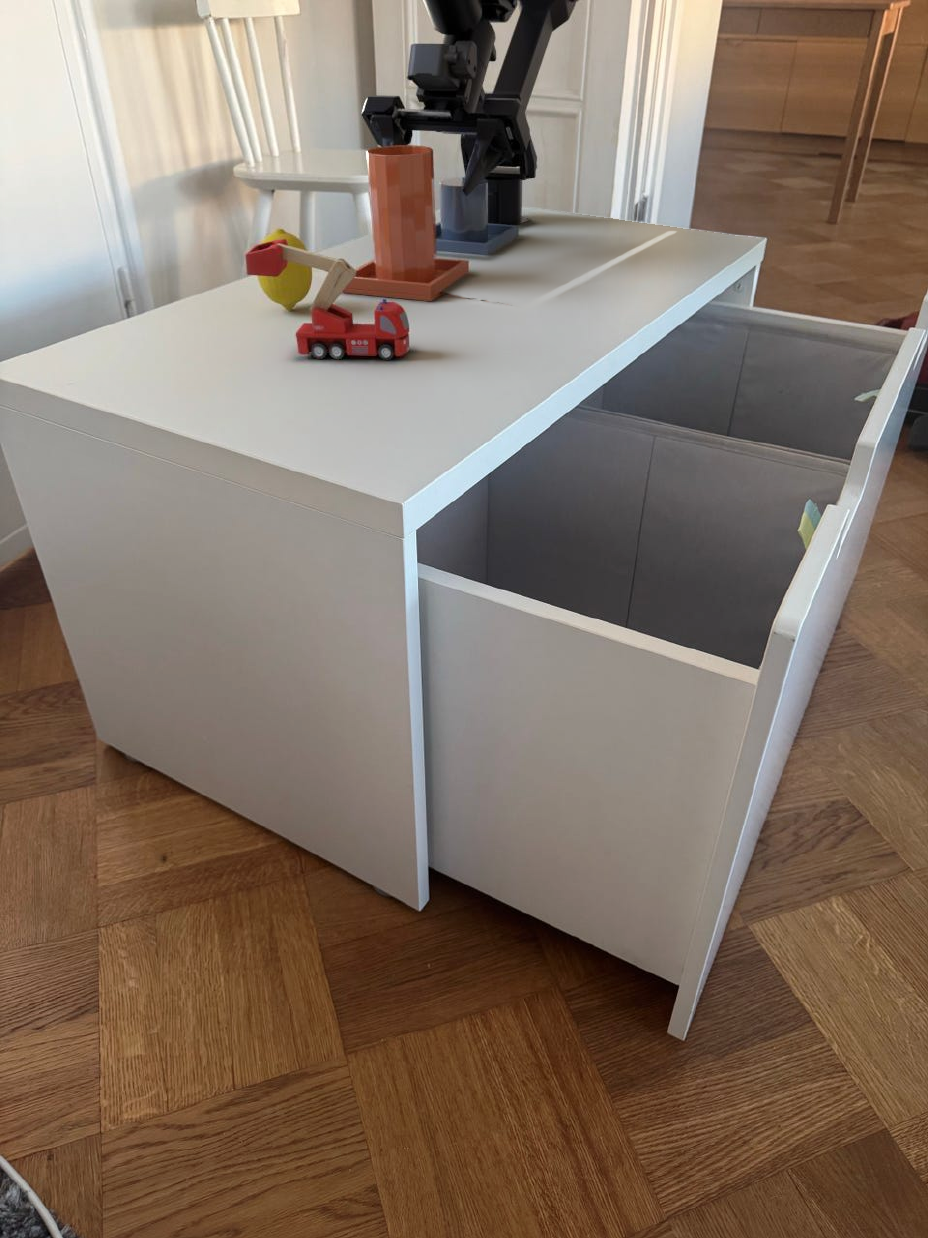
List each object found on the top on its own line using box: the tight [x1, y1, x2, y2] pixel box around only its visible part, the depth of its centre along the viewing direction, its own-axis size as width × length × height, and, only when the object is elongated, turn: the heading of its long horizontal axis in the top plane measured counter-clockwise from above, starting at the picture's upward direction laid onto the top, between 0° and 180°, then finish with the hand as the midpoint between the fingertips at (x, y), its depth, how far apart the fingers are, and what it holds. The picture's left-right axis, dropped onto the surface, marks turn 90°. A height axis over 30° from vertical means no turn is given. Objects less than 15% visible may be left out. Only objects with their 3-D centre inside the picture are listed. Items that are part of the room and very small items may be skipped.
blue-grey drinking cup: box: [438, 176, 488, 243], centre depth 114 cm, size 6×6×7 cm
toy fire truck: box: [244, 239, 410, 361], centre depth 81 cm, size 3×14×10 cm, turn 84°
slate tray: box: [436, 221, 520, 256], centre depth 116 cm, size 11×11×2 cm
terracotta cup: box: [366, 144, 438, 283], centre depth 99 cm, size 7×7×13 cm
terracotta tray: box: [342, 257, 470, 302], centre depth 102 cm, size 11×11×2 cm
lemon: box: [257, 227, 313, 311], centre depth 93 cm, size 6×6×8 cm
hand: (426, 190), depth 103 cm, fingers open, 9 cm apart
